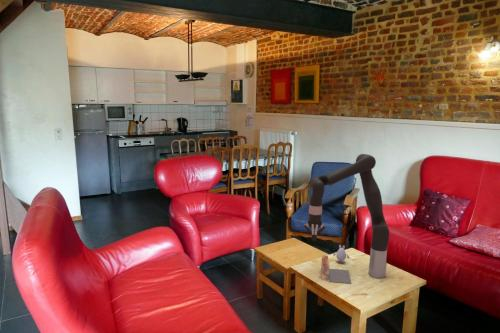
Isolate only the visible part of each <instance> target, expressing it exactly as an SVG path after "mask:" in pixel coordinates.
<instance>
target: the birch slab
mask: <svg viewBox="0 0 500 333" xmlns="http://www.w3.org/2000/svg"><path fill="white" fill-rule="evenodd" d="M320 263H321V264H320V266H321V268H320V273H321V274H320V275H321V280H322V281H329V277H328V276H329V269H330V261H329V255H321V262H320Z"/></svg>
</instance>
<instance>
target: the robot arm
mask: <svg viewBox="0 0 500 333" xmlns="http://www.w3.org/2000/svg"><path fill="white" fill-rule="evenodd" d="M376 162H377V161H376V158H375V157H374V156H373V155H371V154H366V153H361V154H358V156H356V158H355V162H354V163H352V164H349V165H347V166H343V167H340V168H337V169H334V170H332V171H330V172H328V173H326V174H323V175H319V176H316V177H313V178H312V179H311V180H310V181H309V188H310V189H311V190H312V192H311V193H312V194H311V195H310V198H309V206H308V220H307V223H304V225H303V227H304V228H305V229H306V231H307V232H308V234H310V235H311V240H312V241H315V242H316V240H317V237H318V235H320V234H321V233H322V232H323V231H324V230H325V228H326V225H325V224H323V222H322V219H323V218H322V216H323V196H324V193H325V186H333V185H335V184H337V183H339V182H341V181H343V180H345V179H347V178H349V177H352V176H354V175H357V174H359V176H360V182H361V187H362V189H363V190H362V191H363V196H364V199H365V204H366V206H367V210H368V212H369V214H370V220H371V230H372V237H371V244H370V252H369V262H368V263H369V265H368V275H369V276H370V277H372V278H374V279H375V278H376V279H383V278H386V274H387V265H388V264H387V253H388V247H389V240H390V229H389V226H388V224H387V220H386V217H385V216H384V212H383V210H384V209H383V199H382V194H381V191H380V190H381V189H380V188H379V185H378V183H377V181H376V180H375V178H374V175H373V171H372V170H373V169H374V168H375V167H376V164H377V163H376ZM318 229H319V230H318Z"/></svg>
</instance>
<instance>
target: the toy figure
mask: <svg viewBox="0 0 500 333" xmlns="http://www.w3.org/2000/svg"><path fill="white" fill-rule="evenodd" d="M338 245H339V246H338V248H339V249H338V250H337V251H336V252H334V253H333V254H332V256H336V259H337V262H338V263H341V264H344V263H345V261H344V260H346V258H347V259H350V255H348V254H347V253H346V251H345V248H346V247H345V245H341V244H338Z"/></svg>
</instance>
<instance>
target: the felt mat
mask: <svg viewBox="0 0 500 333" xmlns="http://www.w3.org/2000/svg"><path fill="white" fill-rule="evenodd" d="M328 283H334V284H335V283H337V284H347V285H348V284H349V285H352V280H351V276H350V273H349V270H348V269H339V268H338V269H337V268H329V276H328Z"/></svg>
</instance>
